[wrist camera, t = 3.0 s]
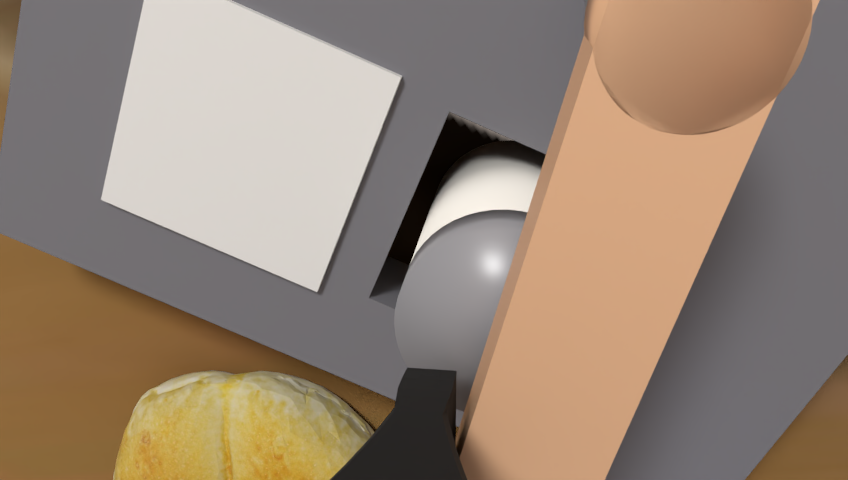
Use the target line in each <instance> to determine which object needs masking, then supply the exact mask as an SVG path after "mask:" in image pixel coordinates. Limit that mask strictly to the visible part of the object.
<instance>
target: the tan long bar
mask: <svg viewBox="0 0 848 480" xmlns="http://www.w3.org/2000/svg"><path fill="white" fill-rule="evenodd" d="M819 1H820V0H588V2H587V6H586V10H585V18H584V37H583V40H582V43H581V46H580V49H579V52H578V55H577V59H576V62H575V65H574V68H573V71H572V74H571V77H570V81H569V84H568V87H567V90H566V93H565V96H564V99H563V103H562V106H561V109H560V112H559V115H558V118H557V121H556V125H555V128H554V131H553V134H552V137H551V140H550V143H549V147H548V150H547V153H546V156H545V159H544V162H543V165H542V169H541V172H540V175H539V178H538V181H537V184H536V187H535V191H534V194H533V197H532V200H531V203H530V206H529V209H528V213H527V216H526V219H525V222H524V225H523V228H522V231H521V235H520V238H519V241H518V244H517V247H516V250H515V253H514V256H513V260H512V263H511V266H510V269H509V272H508V275H507V278H506V282H505V285H504V288H503V291H502V294H501V297H500V300H499V304H498V307H497V310H496V313H495V316H494V319H493V322H492V326H491V329H490V332H489V335H488V338H487V341H486V344H485V348H484V351H483V354H482V357H481V360H480V363H479V366H478V370H477V373H476V376H475V379H474V382H473V385H472V388H471V392H470V395H469V398H468V401H467V404H466V407H465V410H464V414H463V417H462V420H461V423H460V426H459V429H458V432H457V436H456V449H457V452H458V455H459V458H460V461H461V464H462V467H463V469H464V472H465V475H466V477H467V480H605V478H606V476H607V474H608V472H609V469H610V467H611V465H612V463H613V460H614V458H615V456H616V454H617V451H618V449H619V447H620V445H621V443H622V440H623V438H624V436H625V434H626V431H627V429H628V427H629V425H630V422H631V420H632V418H633V416H634V414H635V411H636V409H637V407H638V405H639V402H640V400H641V398H642V396H643V393H644V391H645V389H646V387H647V385H648V382H649V380H650V378H651V376H652V373H653V371H654V369H655V367H656V364H657V362H658V360H659V358H660V356H661V353H662V351H663V349H664V347H665V344H666V342H667V340H668V338H669V335H670V333H671V331H672V329H673V327H674V324H675V322H676V320H677V318H678V315H679V313H680V311H681V309H682V307H683V304H684V302H685V300H686V298H687V295H688V293H689V291H690V289H691V286H692V284H693V282H694V280H695V278H696V275H697V273H698V271H699V269H700V266H701V264H702V262H703V260H704V257H705V255H706V253H707V251H708V249H709V246H710V244H711V242H712V240H713V237H714V235H715V233H716V231H717V228H718V226H719V224H720V222H721V220H722V217H723V215H724V213H725V211H726V208H727V206H728V204H729V202H730V199H731V197H732V195H733V193H734V191H735V188H736V186H737V184H738V182H739V179H740V177H741V175H742V173H743V170H744V168H745V166H746V164H747V162H748V159H749V157H750V155H751V153H752V150H753V148H754V146H755V144H756V141H757V139H758V137H759V135H760V133H761V130H762V128H763V126H764V124H765V121H766V119H767V117H768V115H769V112H770V110H771V108H772V106H773V104H774V101H775V99H776V97H777V95H778V94H779V93H780V92H781V91H782V90H783V89H784V87H785V86H786V85H787V84H788V82H789V81H790V79H791V78H792V76H793V75H794V74H795V72H796V70H797V68H798V66H799V64H800V62H801V61H802V58H803V56H804V53H805V51H806V48H807V45H808V41H809V37H810V33H811V26H812V17H813V14H814V12H815V10H816V8H817V5H818V3H819Z"/></svg>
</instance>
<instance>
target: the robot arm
mask: <svg viewBox="0 0 848 480" xmlns="http://www.w3.org/2000/svg"><path fill="white" fill-rule="evenodd" d="M456 374H457V371H453V370H437V369H422V368H407V369H406V371H405V373H404V375H403V377H402V379H401V382H400V384H399V386H398V390H397V396H396V402H395V407H394V409H393V410H392V411H391V413H390V414H389V415H388V416H387V418H386V419H385V420H384V421H383V422H382V424H381V425H380V426H379V427H378V429H377V430H376V431H375V432H374V434H373V435H372V436H371V437H370V438H369V439H368V441H367V442H366V443H365V444H364V445H363V446H362V447H361V448H360V449H359V450H358V451H357V452H356V453H355V455H354V456H353V457H352V458H351V459H350V460H349V461H348V462H347V463H346V464H345V465H344V466H343V467H342V468H341V469H340V470H339V471H338V472H337V473H336V474H335V475H334V476H333V477H332V478H331V479H330V480H467V477H466V475H465V472H464V469H463V467H462V464H461V461H460V458H459V455H458V452H457V449H456Z"/></svg>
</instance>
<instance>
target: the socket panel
mask: <svg viewBox="0 0 848 480" xmlns="http://www.w3.org/2000/svg"><path fill="white" fill-rule="evenodd" d="M587 2H588V0H22V3H21V10H20V17H19V24H18V31H17V38H16V45H15V52H14V59H13V67H12V74H11V81H10V88H9V95H8V102H7V109H6V116H5V123H4V130H3V137H2V144H1V151H0V233H1V234H3V235H6V236H8V237H10V238H13V239H15V240H17V241H20V242H22V243H24V244H27V245H29V246H31V247H34V248H36V249H39V250H41V251H43V252H46V253H48V254H50V255H53V256H55V257H57V258H60V259H62V260H65V261H67V262H69V263H72V264H74V265H76V266H79V267H81V268H83V269H86V270H88V271H91V272H93V273H95V274H98V275H100V276H102V277H105V278H107V279H109V280H112V281H114V282H117V283H119V284H121V285H124V286H126V287H128V288H131V289H133V290H135V291H138V292H140V293H143V294H145V295H147V296H150V297H152V298H154V299H157V300H159V301H161V302H164V303H166V304H169V305H171V306H173V307H176V308H178V309H180V310H183V311H185V312H187V313H190V314H192V315H195V316H197V317H199V318H202V319H204V320H206V321H209V322H211V323H213V324H216V325H218V326H221V327H223V328H225V329H228V330H230V331H232V332H235V333H237V334H239V335H242V336H244V337H247V338H249V339H251V340H254V341H256V342H258V343H261V344H263V345H265V346H268V347H270V348H273V349H275V350H277V351H280V352H282V353H284V354H287V355H289V356H291V357H294V358H296V359H299V360H301V361H303V362H306V363H308V364H310V365H313V366H315V367H317V368H320V369H322V370H325V371H327V372H329V373H332V374H334V375H336V376H339V377H341V378H343V379H346V380H348V381H351V382H353V383H355V384H358V385H360V386H362V387H365V388H367V389H369V390H372V391H374V392H377V393H379V394H381V395H384V396H386V397H388V398H391V399H393V400H395V401H396V396H397V390H398V386H399V384H400V382H401V379H402V377H403V375H404V373H405V371H406V369H407V368H408V367H407V365H406V364H405V362H404V360H403V358H402V356H401V353H400V351H399V348H398V344H397V340H396V336H395V327H394V315H395V307H396V302H397V298H398V295H399V293H400V290H401V287H402V284H403V282H404V279H405V276H406V273H407V271H408V268H409V265H408V264H405V263H403V262H401V261H398V260H396V259H394V258H392V257H389V256H388V253H389V251H390V249H391V246H392V244H393V242H394V239H395V237H396V235H397V232H398V230H399V228H400V225H401V223H402V221H403V218H404V216H405V214H406V212H407V209H408V207H409V205H410V202H411V200H412V198H413V195H414V193H415V191H416V188H417V186H418V184H419V181H420V179H421V177H422V174H423V172H424V170H425V167H426V165H427V163H428V161H429V158H430V156H431V154H432V151H433V149H434V147H435V144H436V142H437V140H438V137H439V135H440V133H441V130H442V128H443V126H444V123H445V121H446V119H447V116H448V114H449V112H451V113H453V114H455V115H458V116H460V117H462V118H464V119H467V120H469V121H471V122H473V123H476V124H478V125H480V126H483V127H485V128H487V129H489V130H492V131H494V132H496V133H498V134H501V135H503V136H505V137H507V138H510V139H512V140H514V141H517V142H519V143H521V144H523V145H526V146H528V147H530V148H532V149H535V150H537V151H539V152H542V153H544V154H546V153H547V150H548V147H549V143H550V140H551V137H552V134H553V131H554V128H555V125H556V121H557V118H558V115H559V112H560V109H561V106H562V103H563V99H564V96H565V93H566V90H567V87H568V84H569V81H570V77H571V74H572V71H573V68H574V65H575V62H576V59H577V55H578V52H579V49H580V46H581V43H582V40H583V37H584V18H585V10H586V6H587ZM847 355H848V0H820V1H819V3H818V5H817V8H816V10H815V12H814V14H813V17H812V26H811V33H810V37H809V41H808V45H807V48H806V51H805V53H804V56H803V58H802V61H801V62H800V64H799V66H798V68H797V70H796V72H795V74H794V75H793V76H792V78H791V79H790V81H789V82H788V84H787V85H786V86H785V87H784V89H783V90H782V91H781V92H780V93H779V94H778V95H777V97H776V99H775V101H774V104H773V106H772V108H771V110H770V112H769V115H768V117H767V119H766V121H765V124H764V126H763V128H762V130H761V133H760V135H759V137H758V139H757V141H756V144H755V146H754V148H753V150H752V153H751V155H750V157H749V159H748V162H747V164H746V166H745V168H744V170H743V173H742V175H741V177H740V179H739V182H738V184H737V186H736V188H735V191H734V193H733V195H732V197H731V199H730V202H729V204H728V206H727V208H726V211H725V213H724V215H723V217H722V220H721V222H720V224H719V226H718V228H717V231H716V233H715V235H714V237H713V240H712V242H711V244H710V246H709V249H708V251H707V253H706V255H705V257H704V260H703V262H702V264H701V266H700V269H699V271H698V273H697V275H696V278H695V280H694V282H693V284H692V286H691V289H690V291H689V293H688V295H687V298H686V300H685V302H684V304H683V307H682V309H681V311H680V313H679V315H678V318H677V320H676V322H675V324H674V327H673V329H672V331H671V333H670V335H669V338H668V340H667V342H666V344H665V347H664V349H663V351H662V353H661V356H660V358H659V360H658V362H657V364H656V367H655V369H654V371H653V373H652V376H651V378H650V380H649V382H648V385H647V387H646V389H645V391H644V393H643V396H642V398H641V400H640V402H639V405H638V407H637V409H636V411H635V414H634V416H633V418H632V420H631V422H630V425H629V427H628V429H627V431H626V434H625V436H624V438H623V440H622V443H621V445H620V447H619V449H618V451H617V454H616V456H615V458H614V460H613V463H612V465H611V467H610V469H609V472H608V474H607V476H606V478H605V480H745V479H746V477H747V476H748V475H749V474H750V473H751V471H752V470H753V469H754V468H755V467H756V465H757V464H758V463H759V462H760V460H761V459H762V458H763V457H764V456H765V454H766V453H767V452H768V451H769V449H770V448H771V447H772V446H773V445H774V443H775V442H776V441H777V440H778V439H779V437H780V436H781V435H782V434H783V432H784V431H785V430H786V429H787V428H788V426H789V425H790V424H791V423H792V422H793V420H794V419H795V418H796V417H797V415H798V414H799V413H800V412H801V411H802V409H803V408H804V407H805V406H806V404H807V403H808V402H809V401H810V400H811V398H812V397H813V396H814V395H815V394H816V392H817V391H818V390H819V389H820V387H821V386H822V385H823V384H824V383H825V381H826V380H827V379H828V378H829V377H830V375H831V374H832V373H833V372H834V370H835V369H836V368H837V367H838V366H839V364H840V363H841V362H842V361H843V359H844V358H845V357H846V356H847ZM463 414H464V412H463V411H460V410H458V409H456V426H457V427H459V426H460V423H461V420H462V417H463Z"/></svg>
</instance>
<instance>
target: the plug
mask: <svg viewBox="0 0 848 480" xmlns="http://www.w3.org/2000/svg"><path fill="white" fill-rule="evenodd" d="M545 156H546V154H544V153H542V152H539V151H537V150H535V149H532V148H530V147H528V146H526V145H523V144H521V143H519V142H517V141H498V142H492V143H488V144H485V145H482V146H479V147H477V148H475V149H472V150H471V151H469V152H467V153H466V154H464V155H463V156H462V157H460V158H459V159H458V160H457V161H455V162H454V164H453V165H452V166H451V167H450V168H449V169H448V170H447V172H446V173H445V175H444V176H443V178H442V180H441V182H440V183H439V186H438V189H437V191H436V194H435V197H434V199H433V202H432V205H431V208H430V210H429V213H428V216H427V219H426V221H425V224H424V227H423V230H422V232H421V235H420V238H419V241H418V243H417V246H416V249H415V252H414V254H413V257H412V260H411V262H410V265H409V268H408V271H407V273H406V276H405V279H404V282H403V284H402V287H401V290H400V293H399V295H398V298H397V302H396V307H395V315H394V327H395V336H396V340H397V344H398V348H399V351H400V353H401V356H402V358H403V360H404V362H405V364H406V365H407V367H408V368H422V369H437V370H453V371H457V374H456V409H458V410H460V411H463V412H464V410H465V407H466V404H467V401H468V398H469V395H470V392H471V388H472V385H473V382H474V379H475V376H476V373H477V370H478V366H479V363H480V360H481V357H482V354H483V351H484V348H485V344H486V341H487V338H488V335H489V332H490V329H491V326H492V322H493V319H494V316H495V313H496V310H497V307H498V304H499V300H500V297H501V294H502V291H503V288H504V285H505V282H506V278H507V275H508V272H509V269H510V266H511V263H512V260H513V256H514V253H515V250H516V247H517V244H518V241H519V238H520V235H521V231H522V228H523V225H524V222H525V219H526V216H527V213H528V209H529V206H530V203H531V200H532V197H533V194H534V191H535V187H536V184H537V181H538V178H539V175H540V172H541V169H542V165H543V162H544V159H545Z"/></svg>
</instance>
